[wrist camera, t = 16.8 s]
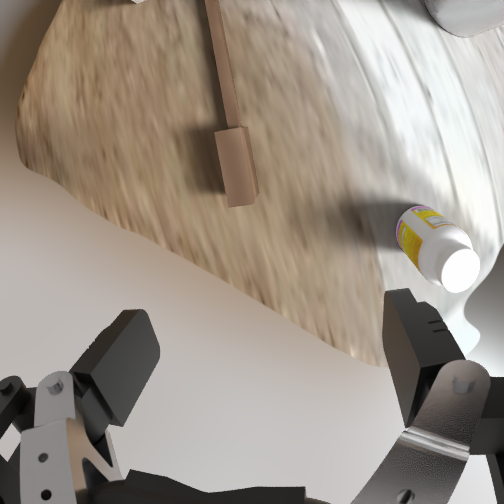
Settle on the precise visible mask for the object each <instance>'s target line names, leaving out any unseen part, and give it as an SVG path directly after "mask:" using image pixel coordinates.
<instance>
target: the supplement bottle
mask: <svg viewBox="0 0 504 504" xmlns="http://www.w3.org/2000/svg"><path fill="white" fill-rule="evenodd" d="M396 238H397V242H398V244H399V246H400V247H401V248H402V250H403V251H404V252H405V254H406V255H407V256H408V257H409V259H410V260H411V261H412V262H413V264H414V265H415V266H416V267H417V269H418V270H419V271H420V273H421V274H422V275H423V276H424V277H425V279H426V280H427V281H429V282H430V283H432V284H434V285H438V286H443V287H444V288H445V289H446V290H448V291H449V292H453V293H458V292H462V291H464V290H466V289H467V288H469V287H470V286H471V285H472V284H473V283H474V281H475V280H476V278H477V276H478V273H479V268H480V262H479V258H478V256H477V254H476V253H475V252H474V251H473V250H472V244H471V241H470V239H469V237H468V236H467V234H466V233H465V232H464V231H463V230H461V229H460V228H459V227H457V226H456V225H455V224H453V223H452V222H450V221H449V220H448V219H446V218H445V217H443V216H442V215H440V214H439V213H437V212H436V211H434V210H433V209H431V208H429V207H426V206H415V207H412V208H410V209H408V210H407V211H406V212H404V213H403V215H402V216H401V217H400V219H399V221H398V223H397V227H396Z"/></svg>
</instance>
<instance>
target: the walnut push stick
mask: <svg viewBox="0 0 504 504" xmlns="http://www.w3.org/2000/svg"><path fill="white" fill-rule="evenodd" d="M205 5H206V10H207V16H208V21H209V27H210V32H211V38H212V43H213V49H214V54H215V60H216V65H217V71H218V76H219V82H220V87H221V93H222V98H223V104H224V109H225V115H226V120H227V125H228V130H223V131H218V132H214V134H215V139H216V144H217V150H218V155H219V160H220V166H221V171H222V176H223V181H224V186H225V192H226V197H227V202H228V207H236V206H243V205H251V204H253V203H254V201H255V199H256V198H257V196H258V194H259V189H258V183H257V177H256V171H255V165H254V160H253V154H252V148H251V142H250V137H249V131H248V127H242V126H241V120H240V114H239V109H238V103H237V98H236V92H235V87H234V82H233V76H232V71H231V65H230V60H229V55H228V49H227V44H226V39H225V33H224V28H223V23H222V18H221V12H220V7H219V2H218V0H205Z"/></svg>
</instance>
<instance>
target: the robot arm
mask: <svg viewBox="0 0 504 504" xmlns="http://www.w3.org/2000/svg"><path fill="white" fill-rule="evenodd" d="M424 2H425V5H426V7H427V10H428V11H429V13H430V15H431V16H432V17H433V19H434V20H435V21H436V22H437V23H438V24H439V25H440V26H441V27H442V28H444V29H445V30H446V31H448V32H450V33H452V34H453V35H456V36H459V37H465V38H466V37H472V36H475V35H477V34H480V33H482V32H485V31H488V30H490V29H493V28H496V27H498V26H501V25H504V0H424ZM382 340H383V348H384V352H385V355H386V358H387V362H388V365H389V369H390V372H391V376H392V379H393V383H394V386H395V390H396V394H397V397H398V401H399V405H400V408H401V413H402V417H403V421H404V425H405V428H409V427H410V428H409V429H408V431H403V432H402V434H401V435H400V436H399V438H398V439H397V441H396V442H395V444H394V445H393V447H392V448H391V450H390V451H389V453H388V454H387V456H386V457H385V459H384V460H383V462H382V463H381V464H380V466H379V467H378V469H377V470H376V472H375V473H374V474H373V476H372V477H371V478H370V480H369V481H368V482H367V484H366V485H365V486H364V487H363V489H362V490H361V491H360V493H359V494H358V495H357V496H356V498H355V499H354V500H353V501H352V502H351V504H447V503H448V501H449V499H450V497H451V495H452V493H453V491H454V489H455V487H456V485H457V483H458V481H459V479H460V477H461V474H462V472H463V470H464V468H465V465H466V463H467V460H468V458H469V455H486V458H487V462H488V465H489V468H490V473H491V477H492V481H493V486H494V490H495V495H496V499H497V504H504V377H490V376H489V373H488V372H487V370H486V369H485V368H484V367H483V366H481V365H480V364H478V363H476V362H473V361H470V360H466V359H465V357H464V355H463V353H462V351H461V350H460V348H459V346H458V344H457V343H456V341H455V339H454V337H453V336H452V334H451V332H450V331H449V330H448V327H447V326H446V324H445V322H443V319H442V317H441V316H440V314H439V313H438V311H437V309H435V308H434V307H432V306H431V305H429V304H428V303H427V302H418V303H417V301H416V300H415V298H414V296H413V295H412V293H411V291H410V290H409V289H408V288H405V289H397V290H389V291H386V292H385V295H384V312H383V329H382ZM159 358H160V346H159V343H158V341H157V338H156V335H155V333H154V330H153V327H152V325H151V322H150V319H149V316H148V314H147V313H146V311H145V310H143V309H137V310H135V309H134V310H123V311H122V312H121V313H120V314H119V316H118V317H117V318H116V319H115V321H113V323H112V324H111V325H110V326H108V327H107V328H106V329H104V330H103V331H102V332H101V333H100V334H99V335H98V336H97V338H96V339H95V341H94V342H93V343H92V344H91V345H90V346H89V349H87V350H86V351H85V352H84V353H83V354H82V356H81V357H80V358H79V360H78V361H77V362H76V363H75V364H74V366H73V367H72V368H71V369H70V371H69V372H66V371H58V372H54V373H52V374H50V375H48V376H46V377H45V378H44V379H43V380H42V381H41V382H40V383H39V385H38V387H34V388H26V386H25V385H24V383H23V381H22V380H21V378H20V377H18V376H10V377H7V378H5V379H3V380H2V381H0V439H1V437H2V436H3V435H4V433H5V431H6V430H7V429H8V427H9V426H10V424H11V423H12V424H13V425H14V427H15V428H16V429H17V430H18V431H19V432H20V434H21V441H20V443H19V445H18V446H17V448H16V449H15V451H14V453H13V454H12V456H11V458H10V459H9V461H8V462H7V461H6V460H5V459H4V458H3V457H2V456H1V455H0V504H330V503H328V502H324V501H321V500H317V499H312V498H307V497H306V489H305V487H251V488H245V489H238V490H231V491H223V492H213V493H207V492H203V491H200V490H197V489H195V488H192V487H190V486H187V485H185V484H182V483H180V482H177V481H175V480H172V479H170V478H168V477H165V476H159V475H154V474H150V473H145V472H140V471H136V470H131V469H130V471H129V473H128V475H127V477H126V479H125V480H124V479H123V477H122V475H121V473H120V470H119V466H118V463H117V459H116V455H115V452H114V448H113V444H112V440H111V436H110V433H109V432H108V430H107V429H106V428H107V427H108V425H109V424H111V425H116V426H121V427H123V426H124V423H125V422H126V420H127V418H128V416H129V414H130V413H131V411H132V409H133V407H134V405H135V403H136V401H137V400H138V398H139V396H140V394H141V392H142V390H143V388H144V387H145V385H146V383H147V381H148V379H149V377H150V376H151V374H152V372H153V370H154V368H155V366H156V364H157V363H158V361H159Z"/></svg>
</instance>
